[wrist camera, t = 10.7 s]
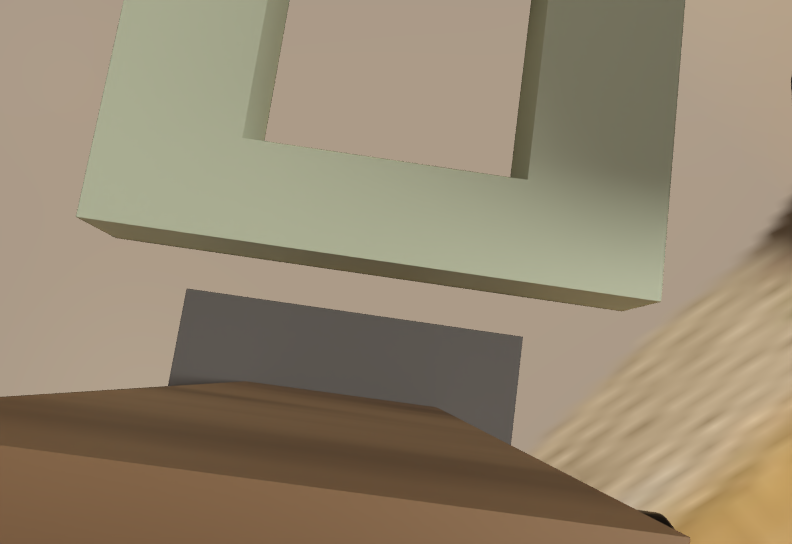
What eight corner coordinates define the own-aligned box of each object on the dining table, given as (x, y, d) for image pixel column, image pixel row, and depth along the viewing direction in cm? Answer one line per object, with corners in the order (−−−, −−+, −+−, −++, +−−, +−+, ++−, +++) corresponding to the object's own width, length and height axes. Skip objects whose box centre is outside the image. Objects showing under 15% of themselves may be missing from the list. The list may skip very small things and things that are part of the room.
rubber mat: (479, 693, 17) (482, 701, 16) (123, 644, 17) (117, 651, 16) (519, 337, 18) (522, 336, 18) (190, 290, 18) (186, 288, 18)
